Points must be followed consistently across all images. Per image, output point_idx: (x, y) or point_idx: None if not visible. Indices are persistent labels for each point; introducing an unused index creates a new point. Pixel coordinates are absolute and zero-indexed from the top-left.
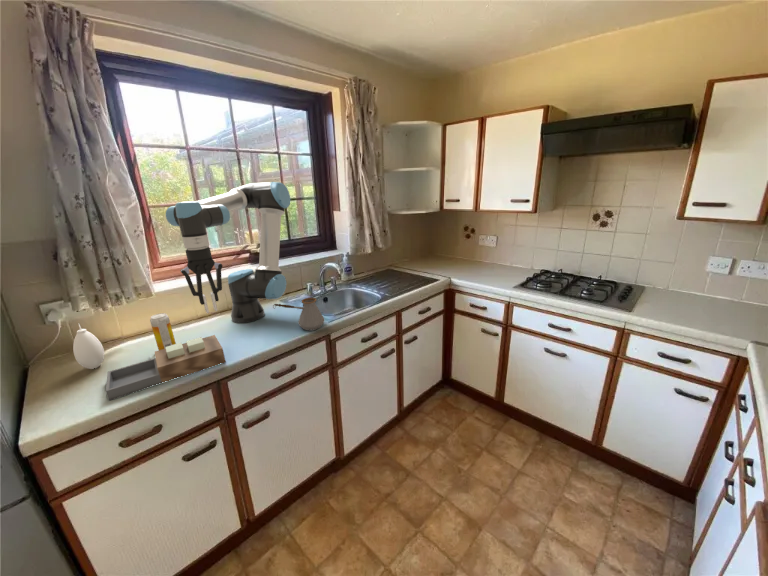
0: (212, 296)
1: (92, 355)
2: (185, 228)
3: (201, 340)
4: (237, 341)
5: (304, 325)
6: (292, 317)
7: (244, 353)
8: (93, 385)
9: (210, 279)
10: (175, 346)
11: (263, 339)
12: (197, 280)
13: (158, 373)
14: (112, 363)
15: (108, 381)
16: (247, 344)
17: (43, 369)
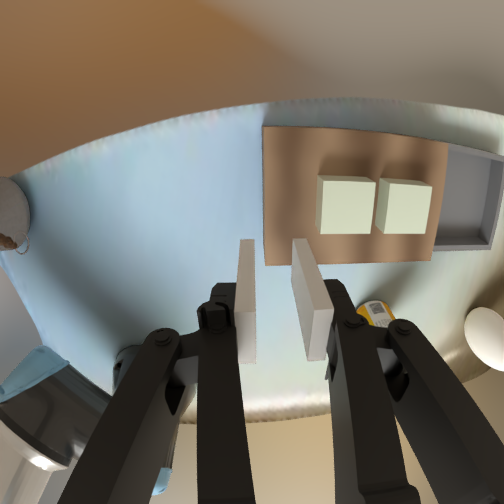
0: (253, 300)
1: (492, 318)
2: None
3: (327, 200)
4: (200, 250)
5: (15, 190)
6: (51, 298)
7: (196, 149)
8: (494, 241)
9: (229, 457)
10: (404, 213)
11: (127, 211)
12: (401, 456)
13: None
14: (453, 314)
15: (499, 200)
16: (176, 208)
17: None
